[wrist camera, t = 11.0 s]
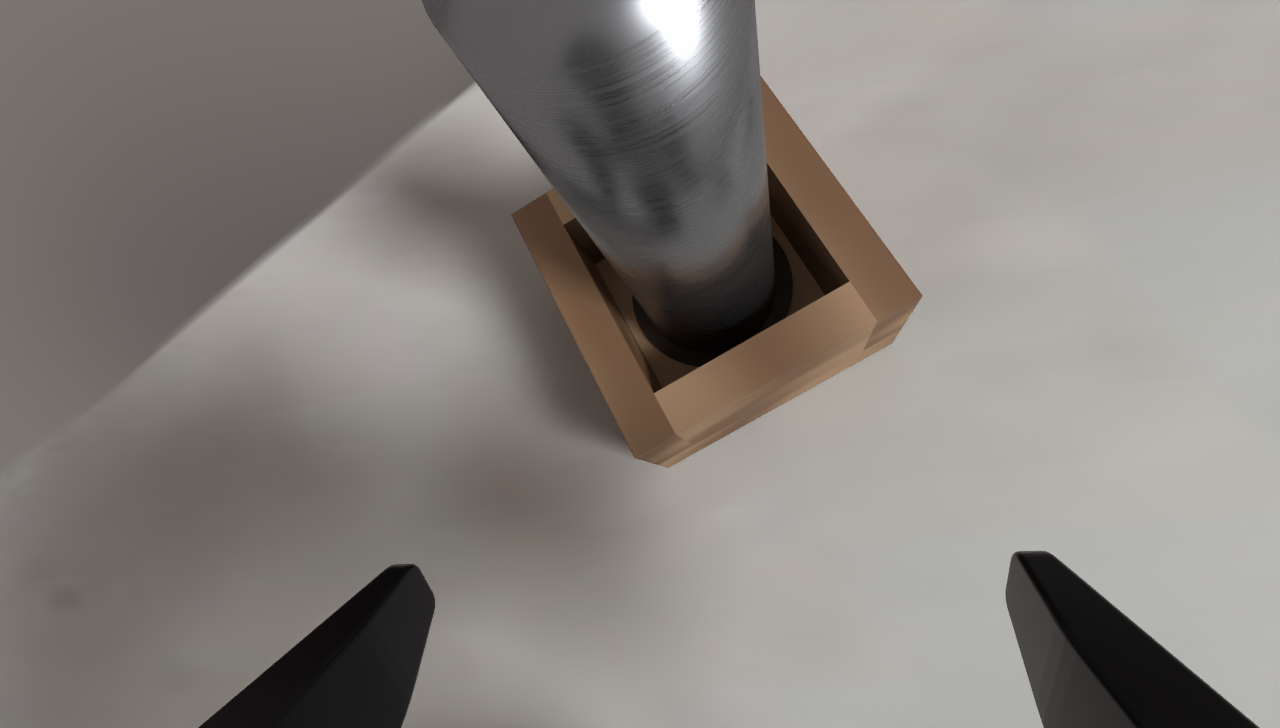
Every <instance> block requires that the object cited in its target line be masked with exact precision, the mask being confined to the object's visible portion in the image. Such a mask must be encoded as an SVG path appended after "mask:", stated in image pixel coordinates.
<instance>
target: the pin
mask: <svg viewBox="0 0 1280 728" xmlns="http://www.w3.org/2000/svg"><path fill="white" fill-rule="evenodd" d="M422 2H423V5H424V7H425V10H426V12H427V14H428V16H429V17H430V19H431V21H432V23H433V24H434V26H435V27H436V29H437V30H438V31H439V33H440V34H441V35H442V37H443V38H444V39H445V41H446V42H447V44H448V45H449V46H450V48H451V49H452V50H453V52H454V53H455V54H456V55H457V57H458V58H459V60H460V61H461V63H462V64H463V65H464V67H465V68H466V69H467V71H468V72H469V73H470V75H471V76H472V77H473V79H474V80H475V82H476V83H477V84H478V86H479V87H480V88H481V90H482V91H483V92H484V94H485V95H486V97H487V98H488V99H489V101H490V102H491V103H492V105H493V106H494V107H495V109H496V110H497V111H498V113H499V114H500V116H501V117H502V118H503V120H504V121H505V122H506V124H507V125H508V126H509V128H510V129H511V130H512V132H513V133H514V134H515V136H516V137H517V139H518V140H519V141H520V143H521V144H522V145H523V147H524V148H525V149H526V151H527V152H528V153H529V155H530V156H531V158H532V159H533V160H534V162H535V163H536V164H537V166H538V167H539V168H540V170H541V171H542V172H543V174H544V175H545V177H546V178H547V179H548V181H549V182H550V183H551V185H552V186H553V187H554V189H555V190H556V191H557V193H558V194H559V196H560V197H561V198H562V200H563V201H564V202H565V204H566V205H567V206H568V208H569V209H570V210H571V212H572V213H573V215H574V216H575V217H576V219H577V220H578V221H579V223H580V224H581V225H582V227H583V228H584V229H585V231H586V232H587V234H588V235H589V236H590V238H591V239H592V240H593V242H594V243H595V244H596V246H597V247H598V248H599V250H600V251H601V252H602V254H603V255H604V257H605V258H606V259H607V261H608V262H609V263H610V265H611V266H612V267H613V269H614V270H615V271H616V273H617V274H618V276H619V277H620V278H621V280H622V281H623V282H624V284H625V285H626V286H627V288H628V289H629V290H630V292H631V293H632V295H633V296H634V297H635V299H636V300H637V301H638V303H639V304H640V305H641V307H642V308H643V309H644V311H645V312H646V314H647V315H648V316H649V318H650V319H651V320H652V322H653V323H654V324H655V326H656V327H657V328H658V330H659V331H660V332H661V333H662V334H663V335H664V336H665V337H666V338H667V339H668V340H669V341H671V342H672V343H674V344H675V345H677V346H679V347H681V348H684V349H687V350H690V351H694V352H701V353H715V352H721V351H725V350H729V349H732V348H734V347H736V346H738V345H739V344H741V343H743V342H745V341H746V340H748V339H750V338H751V337H752V336H753V335H755V334H756V333H757V332H758V331H759V329H760V328H761V327H762V326H763V324H764V323H765V322H766V320H767V318H768V317H769V315H770V313H771V310H772V307H773V304H774V300H775V293H776V282H775V269H774V255H773V242H772V228H771V215H770V201H769V188H768V174H767V161H766V147H765V134H764V121H763V107H762V94H761V80H760V67H759V53H758V40H757V26H756V13H755V0H422Z"/></svg>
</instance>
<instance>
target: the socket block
mask: <svg viewBox="0 0 1280 728" xmlns="http://www.w3.org/2000/svg"><path fill="white" fill-rule="evenodd" d="M760 80H761V94H762V107H763V121H764V134H765V147H766V161H767V174H768V188H769V201H770V215H771V228H772V242H773V255H774V269H775V282H776V293H775V300H774V304H773V307H772V310H771V313H770V315H769V317H768V318H767V320H766V322H765V323H764V324H763V326H762V327H761V328H760V329H759V331H758V332H757V333H756V334H755V335H753V336H752V337H751V338H750V339H748V340H746V341H745V342H743V343H741V344H739V345H738V346H736V347H734V348H732V349H729V350H725V351H721V352H715V353H701V352H694V351H690V350H687V349H684V348H681V347H679V346H677V345H675V344H674V343H672V342H671V341H669V340H668V339H667V338H666V337H665V336H664V335H663V334H662V333H661V332H660V331H659V330H658V328H657V327H656V326H655V324H654V323H653V322H652V320H651V319H650V318H649V316H648V315H647V314H646V312H645V311H644V309H643V308H642V307H641V305H640V304H639V303H638V301H637V300H636V299H635V297H634V296H633V295H632V293H631V292H630V290H629V289H628V288H627V286H626V285H625V284H624V282H623V281H622V280H621V278H620V277H619V276H618V274H617V273H616V271H615V270H614V269H613V267H612V266H611V265H610V263H609V262H608V261H607V259H606V258H605V257H604V255H603V254H602V252H601V251H600V250H599V248H598V247H597V246H596V244H595V243H594V242H593V240H592V239H591V238H590V236H589V235H588V234H587V232H586V231H585V229H584V228H583V227H582V225H581V224H580V223H579V221H578V220H577V219H576V217H575V216H574V215H573V213H572V212H571V210H570V209H569V208H568V206H567V205H566V204H565V202H564V201H563V200H562V198H561V197H560V196H559V194H558V193H557V191H556V190H555V189H552V190H550V191H549V192H547V193H546V194H544V195H542V196H541V197H539V198H537V199H536V200H534V201H533V202H531V203H529V204H528V205H526V206H525V207H523V208H521V209H520V210H518V211H517V212H515V213H513V214H512V217H513V219H514V221H515V223H516V225H517V227H518V229H519V231H520V233H521V235H522V237H523V239H524V241H525V243H526V245H527V247H528V248H529V250H530V252H531V254H532V256H533V258H534V260H535V262H536V264H537V266H538V268H539V270H540V272H541V274H542V276H543V278H544V280H545V282H546V284H547V286H548V288H549V290H550V292H551V294H552V296H553V298H554V300H555V302H556V304H557V306H558V308H559V310H560V312H561V314H562V316H563V318H564V320H565V322H566V324H567V326H568V327H569V329H570V331H571V333H572V335H573V337H574V339H575V341H576V343H577V345H578V347H579V349H580V351H581V353H582V355H583V357H584V359H585V361H586V363H587V365H588V367H589V369H590V371H591V373H592V375H593V377H594V379H595V381H596V383H597V385H598V387H599V389H600V391H601V393H602V395H603V397H604V399H605V401H606V403H607V405H608V406H609V408H610V410H611V412H612V414H613V416H614V418H615V420H616V422H617V424H618V426H619V428H620V430H621V432H622V434H623V436H624V438H625V440H626V442H627V444H628V446H629V448H630V450H631V452H632V454H633V456H634V458H637V459H641V460H644V461H647V462H651V463H654V464H657V465H661V466H664V467H667V468H669V467H670V466H672V465H674V464H676V463H678V462H679V461H681V460H683V459H685V458H686V457H688V456H690V455H692V454H694V453H695V452H697V451H699V450H701V449H703V448H704V447H706V446H708V445H710V444H712V443H713V442H715V441H717V440H719V439H721V438H722V437H724V436H726V435H728V434H730V433H731V432H733V431H735V430H737V429H739V428H740V427H742V426H744V425H746V424H748V423H749V422H751V421H753V420H755V419H757V418H758V417H760V416H762V415H764V414H766V413H767V412H769V411H771V410H773V409H775V408H776V407H778V406H780V405H782V404H784V403H785V402H787V401H789V400H791V399H793V398H794V397H796V396H798V395H800V394H802V393H803V392H805V391H807V390H809V389H810V388H812V387H814V386H816V385H818V384H819V383H821V382H823V381H825V380H827V379H828V378H830V377H832V376H834V375H836V374H837V373H839V372H841V371H843V370H845V369H846V368H848V367H850V366H852V365H854V364H855V363H857V362H859V361H861V360H863V359H864V358H866V357H868V356H870V355H872V354H873V353H875V352H877V351H879V350H881V349H882V348H884V347H886V346H888V345H890V344H891V343H893V341H894V339H895V338H896V336H897V335H898V333H899V332H900V330H901V329H902V327H903V325H904V324H905V322H906V321H907V319H908V318H909V316H910V314H911V313H912V311H913V310H914V308H915V307H916V305H917V304H918V302H919V300H920V299H921V297H922V294H921V293H920V292H919V290H918V289H917V288H916V286H915V285H914V284H913V282H912V281H911V280H910V278H909V277H908V275H907V274H906V273H905V271H904V270H903V269H902V267H901V266H900V265H899V263H898V262H897V260H896V259H895V258H894V256H893V255H892V254H891V252H890V251H889V250H888V248H887V247H886V246H885V244H884V243H883V241H882V240H881V239H880V237H879V236H878V235H877V233H876V232H875V231H874V229H873V228H872V227H871V225H870V224H869V222H868V221H867V220H866V218H865V217H864V216H863V214H862V213H861V212H860V210H859V209H858V208H857V206H856V205H855V203H854V202H853V201H852V199H851V198H850V197H849V195H848V194H847V193H846V191H845V190H844V189H843V187H842V186H841V184H840V183H839V182H838V180H837V179H836V178H835V176H834V175H833V174H832V172H831V171H830V169H829V168H828V167H827V165H826V164H825V163H824V161H823V160H822V159H821V157H820V156H819V155H818V153H817V152H816V150H815V149H814V148H813V146H812V145H811V144H810V142H809V141H808V140H807V138H806V137H805V136H804V134H803V133H802V131H801V130H800V129H799V127H798V126H797V125H796V123H795V122H794V121H793V119H792V118H791V117H790V115H789V114H788V112H787V111H786V110H785V108H784V107H783V106H782V104H781V103H780V102H779V100H778V99H777V98H776V96H775V95H774V93H773V92H772V91H771V89H770V88H769V87H768V85H767V84H766V83H765V81H764V80H763V78H762V77H761V76H760Z"/></svg>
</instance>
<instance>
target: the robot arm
mask: <svg viewBox="0 0 1280 728" xmlns="http://www.w3.org/2000/svg"><path fill="white" fill-rule="evenodd" d="M1006 603H1007V607H1008V611H1009V614H1010V618H1011V621H1012V624H1013V628H1014V631H1015V635H1016V638H1017V641H1018V645H1019V648H1020V651H1021V655H1022V658H1023V661H1024V665H1025V668H1026V671H1027V675H1028V678H1029V681H1030V685H1031V688H1032V691H1033V695H1034V698H1035V701H1036V705H1037V708H1038V711H1039V714H1040V717H1041V720H1042V724H1043V726H1044V728H1259V727H1258V726H1257V725H1256V724H1254V723H1253V722H1252V721H1251V720H1250V719H1248V718H1247V717H1246V716H1245V715H1244V714H1242V713H1241V712H1240V711H1239V710H1238V709H1237V708H1235V707H1234V706H1233V705H1232V704H1231V703H1229V702H1228V701H1227V700H1226V699H1225V698H1223V697H1222V696H1221V695H1220V694H1219V693H1217V692H1216V691H1215V690H1214V689H1213V688H1211V687H1210V686H1209V685H1208V684H1207V683H1205V682H1204V681H1203V680H1202V679H1201V678H1200V677H1198V676H1197V675H1196V674H1195V673H1194V672H1192V671H1191V670H1190V669H1189V668H1188V667H1186V666H1185V665H1184V664H1183V663H1182V662H1180V661H1179V660H1178V659H1177V658H1176V657H1174V656H1173V655H1172V654H1171V653H1170V652H1168V651H1167V650H1166V649H1165V648H1164V647H1163V646H1161V645H1160V644H1159V643H1158V642H1157V641H1155V640H1154V639H1153V638H1152V637H1151V636H1149V635H1148V634H1147V633H1146V632H1145V631H1143V630H1142V629H1141V628H1140V627H1139V626H1137V625H1136V624H1135V623H1134V622H1133V621H1131V620H1130V619H1129V618H1128V617H1127V616H1125V615H1124V614H1123V613H1122V612H1121V611H1120V610H1118V609H1117V608H1116V607H1115V606H1114V605H1112V604H1111V603H1110V602H1109V601H1108V600H1106V599H1105V598H1104V597H1103V596H1102V595H1100V594H1099V593H1098V592H1097V591H1096V590H1094V589H1093V588H1092V587H1091V586H1090V585H1088V584H1087V583H1086V582H1085V581H1084V580H1083V579H1081V578H1080V577H1079V576H1078V575H1077V574H1075V573H1074V572H1073V571H1072V570H1071V569H1069V568H1068V567H1067V566H1066V565H1065V564H1063V563H1062V562H1061V561H1060V560H1059V559H1057V558H1056V557H1055V556H1054V555H1052V554H1050V553H1048V552H1046V551H1018V552H1015V553H1014V554H1013V555H1012V558H1011V562H1010V568H1009V574H1008V580H1007V585H1006ZM434 609H435V598H434V594H433V592H432V590H431V589H430V587H429V585H428V583H427V581H426V580H425V578H424V576H423V574H422V572H421V571H420V569H419V568H418V567H417V566H416V565H414V564H396V565H392V566H390V567H388V568H387V569H385V570H384V571H383V572H382V573H381V574H379V575H378V576H377V577H376V578H375V579H374V580H372V581H371V582H370V583H369V584H368V585H366V586H365V587H364V588H363V589H362V590H361V591H359V592H358V593H357V594H356V595H355V596H353V597H352V598H351V599H350V600H349V601H348V602H346V603H345V604H344V605H343V606H342V607H340V608H339V609H338V610H337V611H336V612H335V613H333V614H332V615H331V616H330V617H329V618H327V619H326V620H325V621H324V622H323V623H322V624H320V625H319V626H318V627H317V628H316V629H314V630H313V631H312V632H311V633H310V634H309V635H307V636H306V637H305V638H304V639H303V640H302V641H300V642H299V643H298V644H297V645H296V646H294V647H293V648H292V649H291V650H290V651H289V652H287V653H286V654H285V655H284V656H283V657H281V658H280V659H279V660H278V661H277V662H276V663H274V664H273V665H272V666H271V667H270V668H268V669H267V670H266V671H265V672H264V673H263V674H261V675H260V676H259V677H258V678H257V679H255V680H254V681H253V682H252V683H251V684H250V685H248V686H247V687H246V688H245V689H244V690H242V691H241V692H240V693H239V694H238V695H237V696H235V697H234V698H233V699H232V700H231V701H229V702H228V703H227V704H226V705H225V706H224V707H222V708H221V709H220V710H219V711H218V712H216V713H215V714H214V715H213V716H212V717H210V718H209V719H208V720H207V721H206V722H205V723H203V724H202V725H201V726H200V727H199V728H401V726H402V724H403V721H404V718H405V715H406V712H407V709H408V706H409V703H410V700H411V697H412V693H413V690H414V686H415V683H416V679H417V675H418V671H419V667H420V663H421V660H422V656H423V652H424V648H425V644H426V641H427V637H428V633H429V629H430V625H431V621H432V618H433V614H434Z"/></svg>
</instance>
